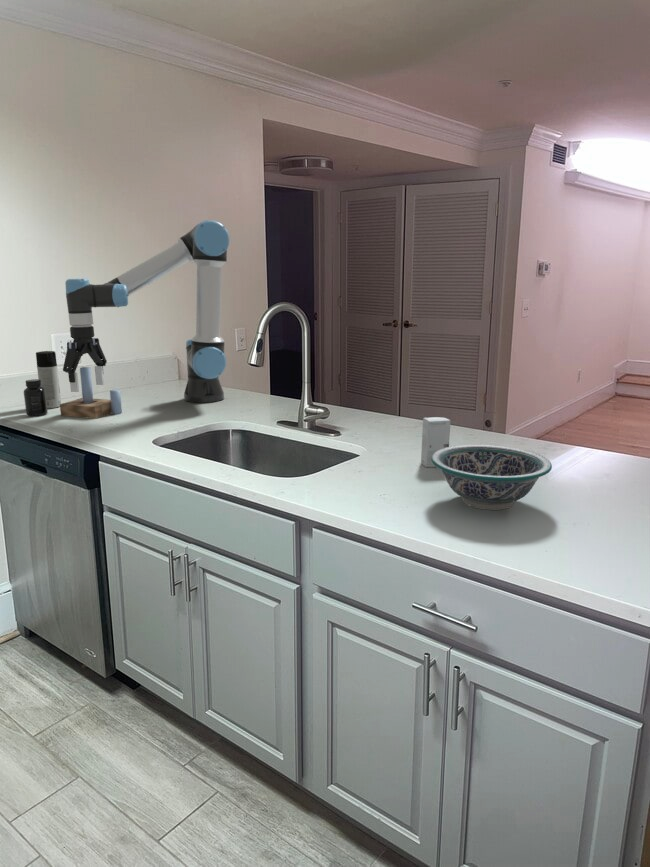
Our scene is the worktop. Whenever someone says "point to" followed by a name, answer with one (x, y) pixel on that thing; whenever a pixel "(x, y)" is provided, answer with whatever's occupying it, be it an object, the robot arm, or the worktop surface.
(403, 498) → the worktop surface
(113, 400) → the short dowel
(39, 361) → the spray can
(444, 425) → the skincare box
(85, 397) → the long dowel
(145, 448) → the worktop surface
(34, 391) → the supplement bottle
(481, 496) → the bowl
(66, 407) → the collar block
